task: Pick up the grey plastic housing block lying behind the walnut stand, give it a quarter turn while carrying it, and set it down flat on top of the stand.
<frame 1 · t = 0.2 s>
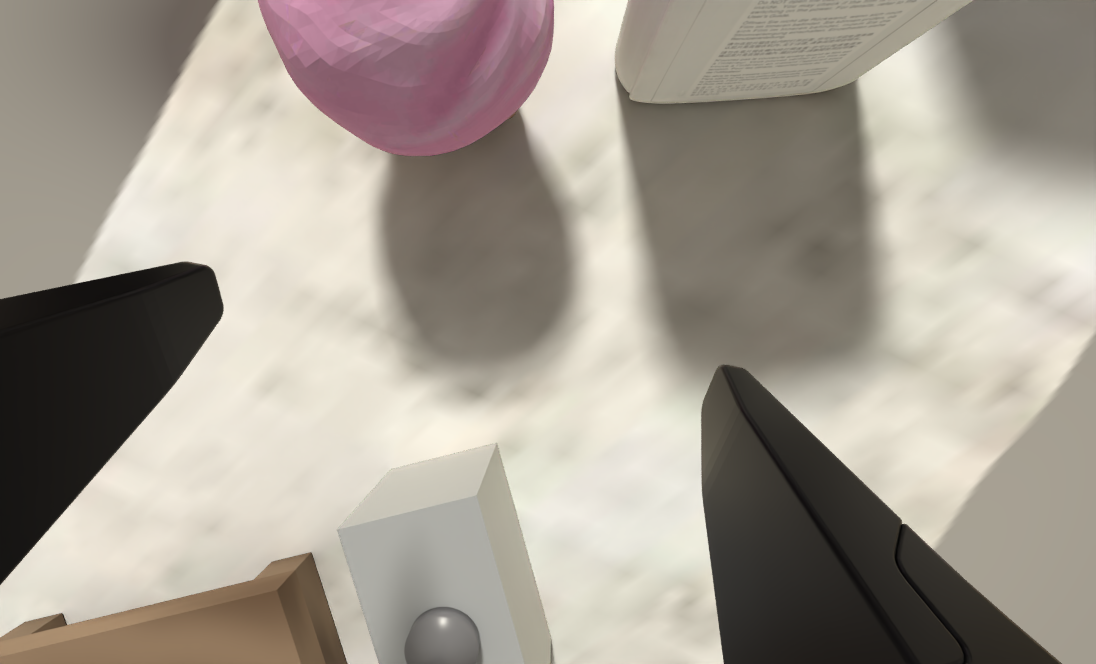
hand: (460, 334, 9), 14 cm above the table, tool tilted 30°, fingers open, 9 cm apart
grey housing: (472, 552, 24), on the table
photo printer: (732, 57, 22), on the table
cupcake: (454, 85, 22), on the table
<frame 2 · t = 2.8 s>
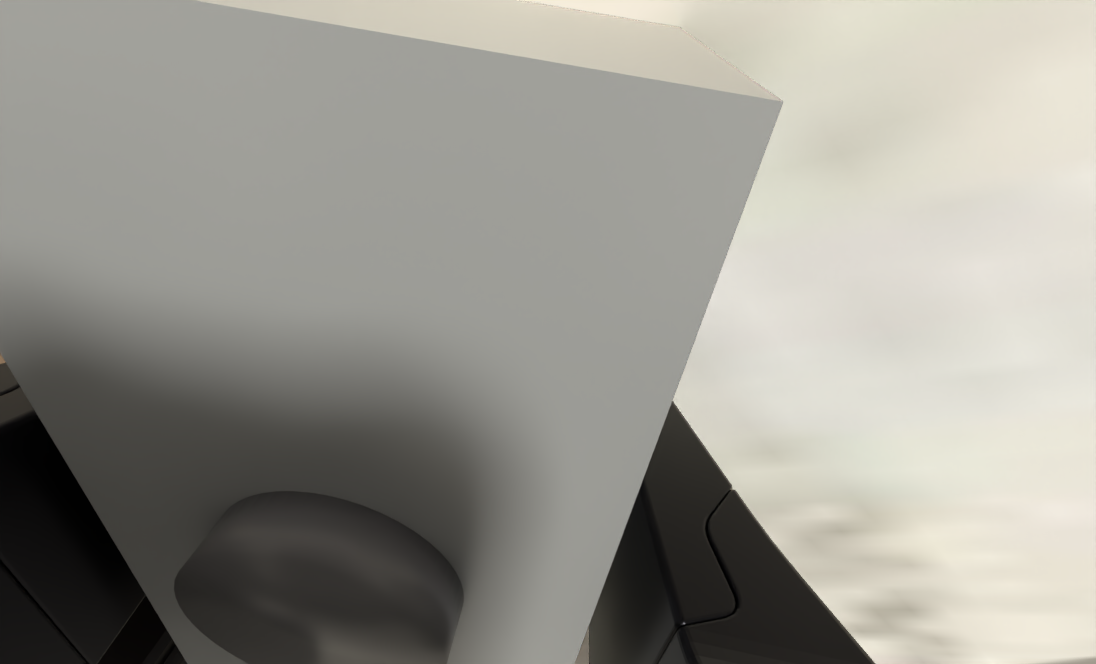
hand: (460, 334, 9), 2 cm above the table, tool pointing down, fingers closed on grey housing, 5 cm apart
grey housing: (481, 292, 10), on the table, touching gripper
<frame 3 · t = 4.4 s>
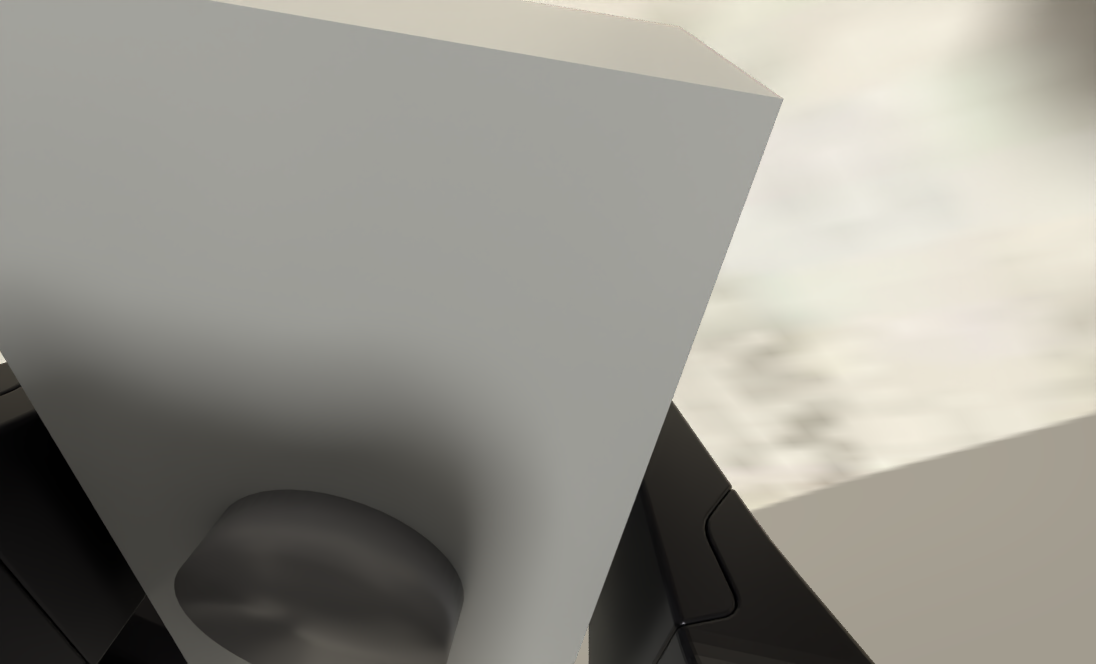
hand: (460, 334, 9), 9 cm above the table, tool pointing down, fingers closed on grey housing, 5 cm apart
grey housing: (481, 292, 10), point 8 cm above the table, touching gripper
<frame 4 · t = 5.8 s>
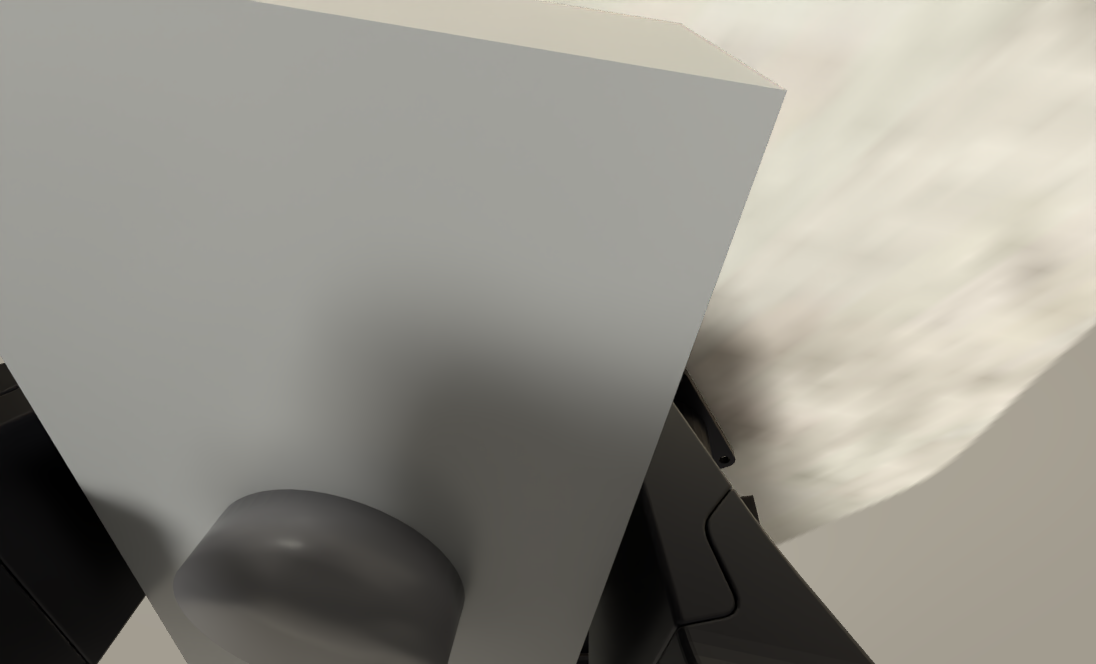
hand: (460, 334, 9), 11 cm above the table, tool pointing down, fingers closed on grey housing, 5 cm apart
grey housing: (482, 291, 10), point 10 cm above the table, touching gripper
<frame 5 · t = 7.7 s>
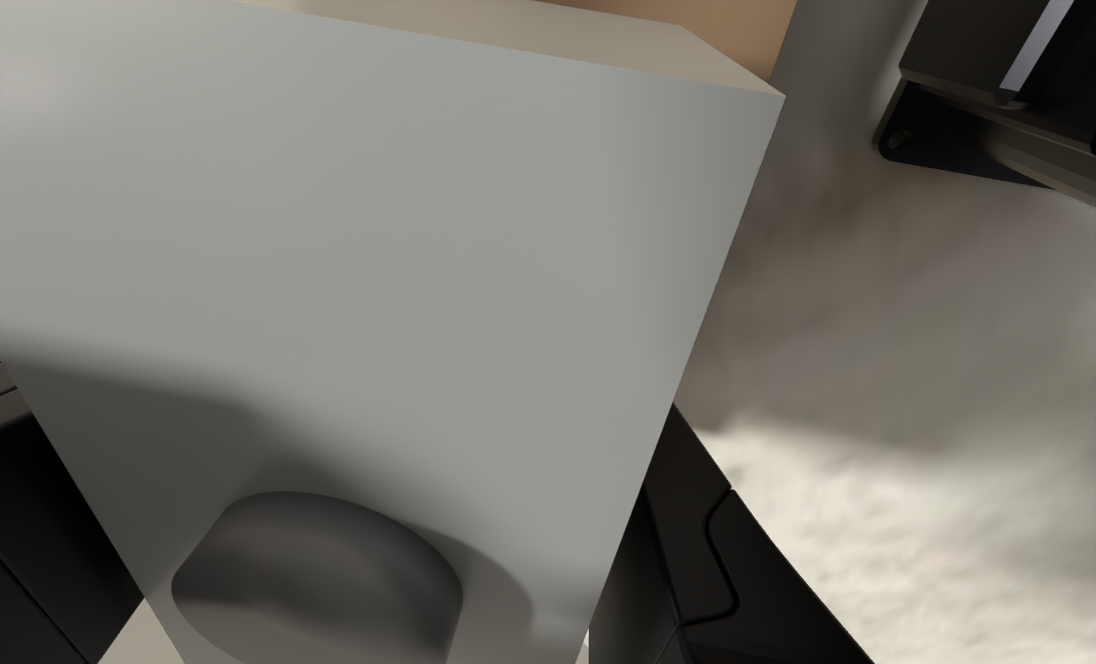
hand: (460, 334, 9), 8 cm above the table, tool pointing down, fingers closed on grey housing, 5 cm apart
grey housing: (481, 292, 10), point 6 cm above the table, touching gripper
walnut stand: (528, 193, 15), on the table
when the fingers open (5 cm above the table, at t = 9.0 s): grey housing stays where it is, resting on walnut stand.
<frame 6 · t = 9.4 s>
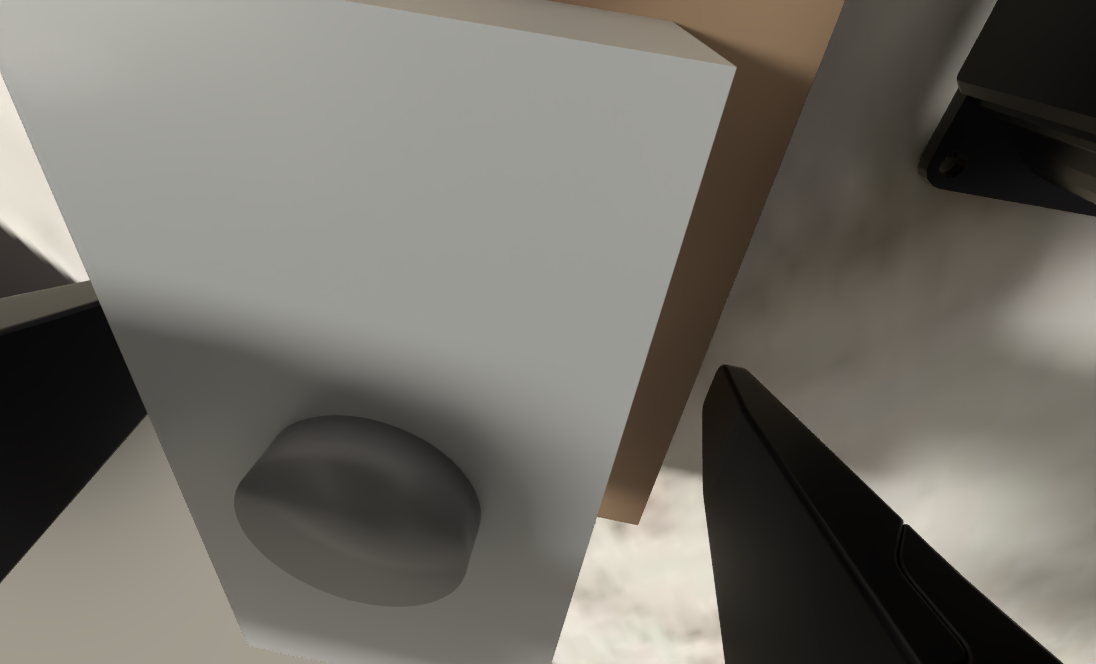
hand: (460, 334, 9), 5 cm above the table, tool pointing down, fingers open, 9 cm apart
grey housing: (489, 269, 11), point 3 cm above the table, touching walnut stand
walnut stand: (517, 220, 13), on the table
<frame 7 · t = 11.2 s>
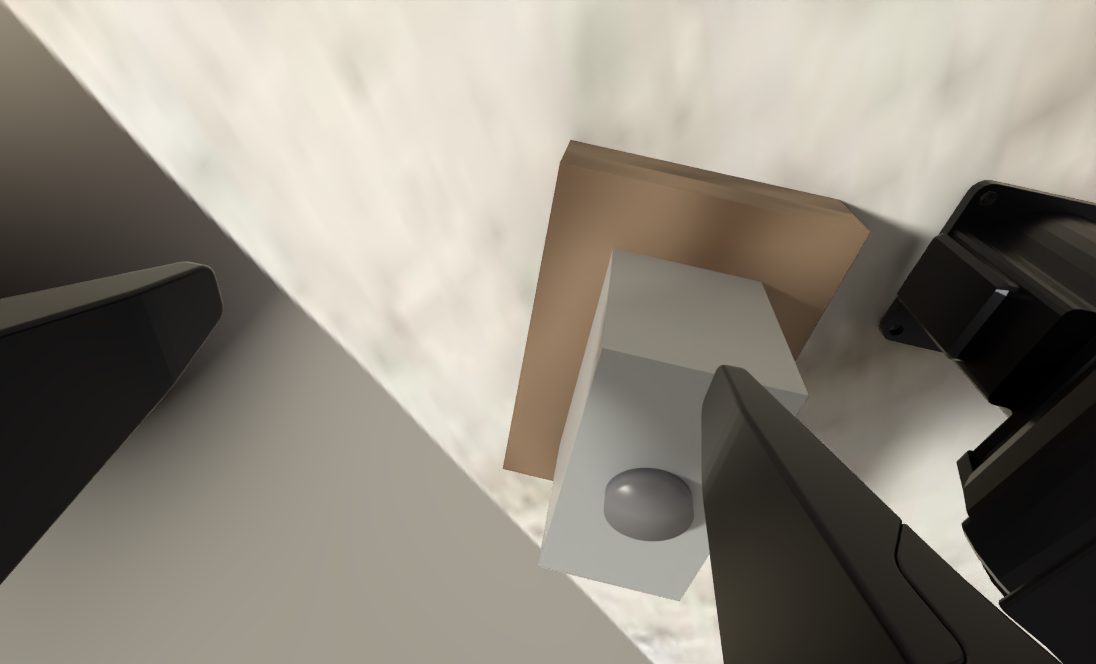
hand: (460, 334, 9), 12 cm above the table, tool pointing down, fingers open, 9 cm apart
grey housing: (646, 375, 20), point 3 cm above the table, touching walnut stand
walnut stand: (646, 334, 23), on the table
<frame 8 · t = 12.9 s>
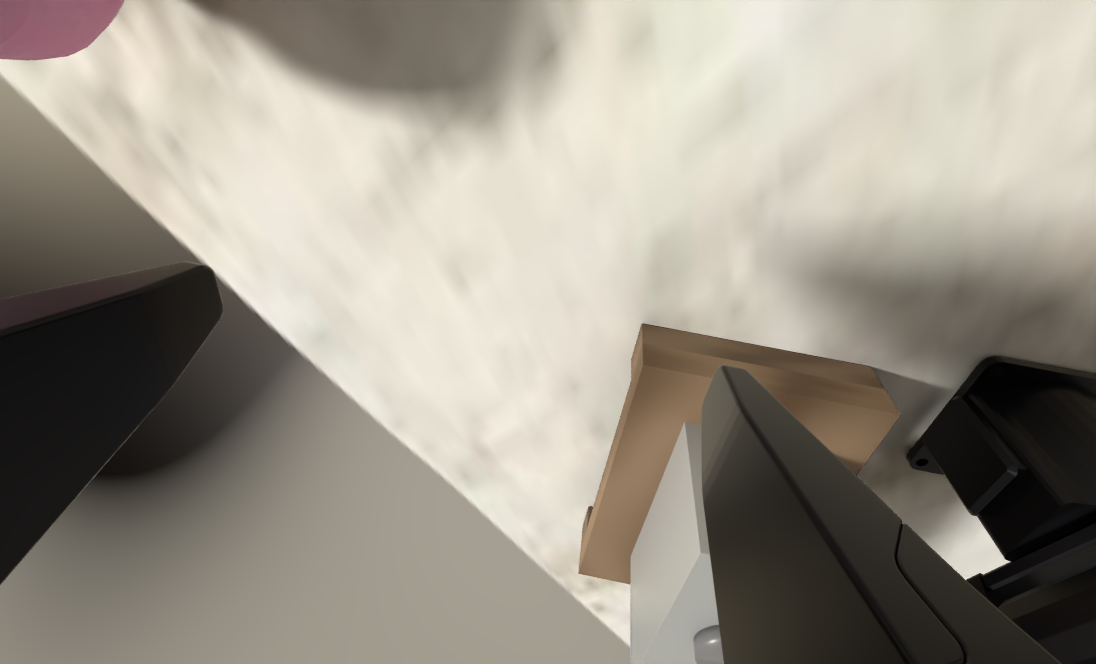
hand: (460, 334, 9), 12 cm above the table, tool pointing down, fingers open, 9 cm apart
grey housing: (709, 508, 24), point 3 cm above the table, touching walnut stand
walnut stand: (702, 460, 26), on the table
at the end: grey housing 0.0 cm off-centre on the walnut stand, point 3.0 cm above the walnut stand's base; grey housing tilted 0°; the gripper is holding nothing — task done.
